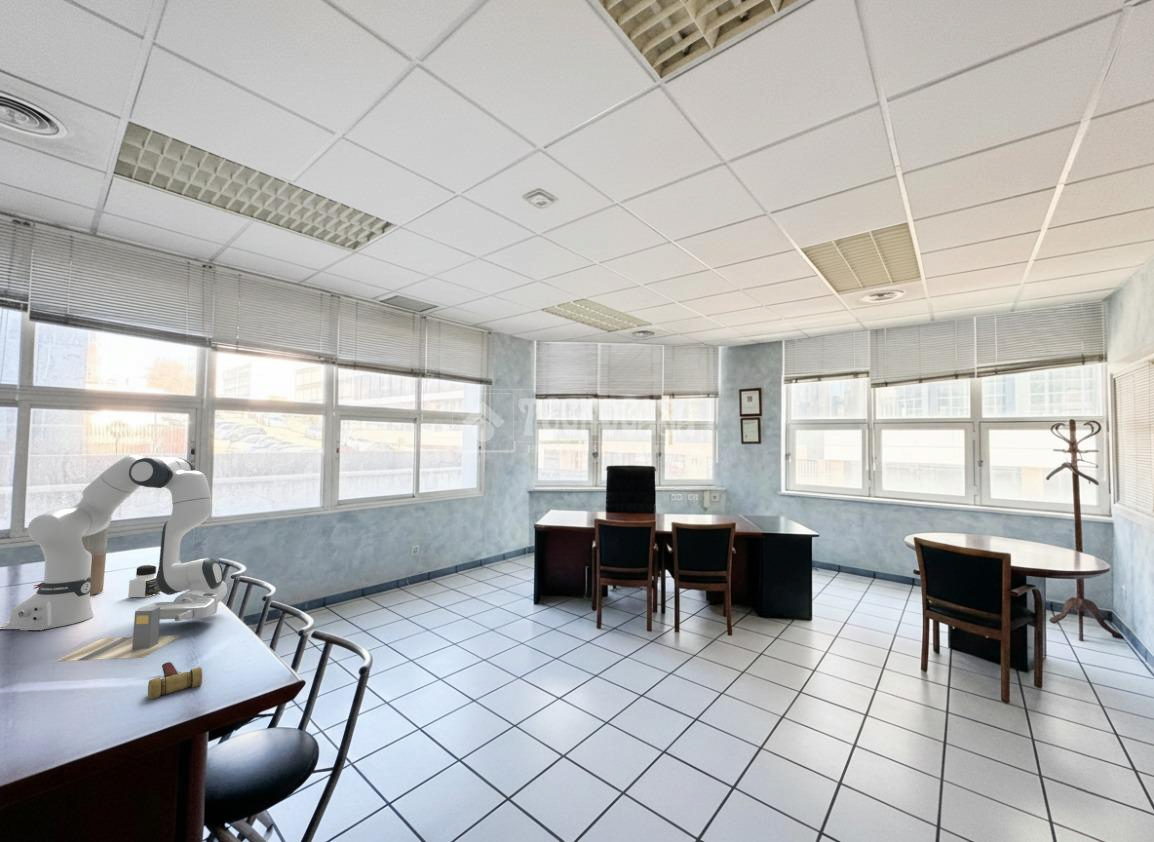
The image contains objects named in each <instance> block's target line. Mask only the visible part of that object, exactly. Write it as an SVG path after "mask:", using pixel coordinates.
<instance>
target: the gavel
mask: <svg viewBox="0 0 1154 842" xmlns="http://www.w3.org/2000/svg"><path fill="white" fill-rule="evenodd" d="M161 668H162V672H163V674H164V675H163V678H161V677H156V678H153V679H150V680H149V681H148V684H147V697H148V700H149V701H150V700H155V699H157V698H160V697H161V696H162V695H163V696H164V695H168V694H171V693H175V692H178V691H179V692H180V691H182V690H186V689H188V688H191V689H193V688H196V687H200V686H202V683H203V669H202V667H201V666H199V667H196V668H195V667H194V668H191V669H190V671H184V672H181V673H178V671H177V669H176V667H175V665H174V664H173V663H172V662H171V661H167V662H164V663H163V664H162V665H161Z"/></svg>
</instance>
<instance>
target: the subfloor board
mask: <svg viewBox="0 0 1154 842" xmlns="http://www.w3.org/2000/svg"><path fill="white" fill-rule="evenodd" d="M181 636H183V635H182V634H174V635H159V637H158V644H156V645H155V646H153V647H151V648H149V649H132V644H133V636H125V637H102V638H101V639H99V640H95V641H94V642H91V643H90V644H87V645H85V646H84V647H81V648H79V649H77V650H75V651H73V652H71V653H69V654H67V655H64V656H63V657H60V658H58V659H56V660H54V661H53V662H72V661H95V660H96V661H97V660H99V661H101V660H118V659H136V658H137V659H138V658H145V657H147V656H150V654H152V653H154V652H156V651H157V650H160V649H162V647H164V646H166V645H168V644H170V643H171V642H174V641H175V640H176V639H178V638H180V637H181Z"/></svg>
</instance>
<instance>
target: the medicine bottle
mask: <svg viewBox="0 0 1154 842" xmlns="http://www.w3.org/2000/svg"><path fill="white" fill-rule="evenodd" d="M157 567H158V566H157V565H155V564H145V565H140V566H138V567H137V568H136V574H135V578H132V579H129V581H128V583H129V584H128V595H127V597H147V596H150V595H153V594H156V593H159V592H161V591H159V590H158V589H157V587H156V584H155V581H156V576H157ZM161 593H162V592H161ZM159 594H160V593H159ZM156 595H157V594H156ZM153 596H154V595H153ZM150 597H151V596H150ZM147 598H148V597H147Z"/></svg>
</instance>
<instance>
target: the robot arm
mask: <svg viewBox="0 0 1154 842" xmlns="http://www.w3.org/2000/svg"><path fill="white" fill-rule="evenodd" d="M140 487H144V488H154V489H162V488H165V489H167V490H168V491H169V492H170V494H171V499H172V502H171V503H172V509H171V514H170V517H169V518H168V520H167V521H165V523H164V524H163V527H162V532H161V539H160V540H161V541H160V552H159V563H158V569H157V571H156V575H155V576H156V581H155V584H156V587H157V589H158V590H159V591H161V593H163V594H165V595H167V596H172V595H175V594H178V593H182V592H183V593H182V594H179V595H177V596H176V597H175V598H174V600H173V601H160V602H159V601H158V602H154V603H150V604H147V605H144V606H142V607H140V608H138V609H137V610H139V609H141V608H143V607H161V609H160V620H174V621H175V622H181V621H184V620H190V619H206V618H208V617H210V616H213V615H215V614H217V612H218V606H219V603H220V602H222V601H223V599H224V598H225V597H226V595H227V591H228V587H227V584H226V582H225V581H223V579H224V574H223V573H224V572H223V567H222V565H221V564H220V562H218V560H217V559H214V558H213V557H205V558H200V559H195V560H191V561H188V562H183V563H182V562H180V554H181V553H180V552H181V551H180V550H181V543H182V542H181V541H182V539H183V537H184V536H185V535H186V534H187V533H188V532H190V531H191V530H193V529H195V528H196V527H198V526H200V525H201V524H203V523H204V522H205V521H206V520H208V518H209V517H210V516H211V514H212V512H213V501H212V492H211V488H210V485H209V481H208V479H207V476H206V475H205V473H203V472H201V471H197V470H196V467H195V465H194V464H193V462H191V461H189V460H187V459H185V458H184V459H183V458H182V457H181V458H178V457H173V456H172V457H170V456H147V457H146V456H145V457H144V456H140V455H136V454H135V455H134V454H131V455H128V456H127V455H126V456H124V457H123V458H121V459H120V460H118V461H117V462H115V463H113V464H112V465H111V466H109V467H107V468H106V469H105V470H104V471H103V472H102V473H101V474H99V476H97V477H96V478H95V479H94V480H93V481H91V482H90V483H89V484H88V485H87V486H86V487H85V488H84V489H83V491H82V498H81V500H80V501H79V502H78V503H77V504H76V505H74V506H72V507H69V508H62V509H55V510H51V511H48V512H44V513H42V514H40V515H38V516H36V517H33V519H32V520H31V521H30V522H29V524H28V526H27V534H28V536H29V538H30V539H31V540H32V541H34V542H35V543H37V544H38V545H39V546H40V549H41V550H42V553H43V556H44V557H43V558H44V572H43V573H44V576H43V581H42V582H40V583H38V584H35V585H33V590H34V589H37V590H36V592H35V594H33V595H32V596H30V597H29V598H27V599H26V600H24V601H22V602H21V603H19V604H17V605H16V606H15V607H14V608H13V609H12V611H11V612H10V613H11V614H9V615H10V616H9V620H8V621H4V622H2V623H0V628H2V629H4V628H5V629H20V630H19V631H28V630H40V631H43V630H44V629H45V630H48V629H53V628H56V627H57V628H58V627H65V626H68V625H72V624H77V623H81V622H83V621H87V620H89V619H91V618H93V617H94V616H95V615H94V613H93V609H92V604H91V596H90V589H91V584H92V576H90V574H91V562H92V555H91V553H90V552H88V551H86V550H85V548H84V546H83V542H82V537H85V536H90V535H93V534H96V533H98V532H100V531H102V530H104V529H105V528H107V527H108V528H109V526H110V525H111V522H112V516H113V514H114V512H115V511H116V510H117V508H118V507H119V506H120V505H121V504H122V503H123V502H124V501H126V500H127V498H129V497H130V496H132V494H133V493H135V492H136V491H137V490H138V489H139V488H140ZM93 615H94V616H93ZM92 616H93V617H92ZM45 630H44V631H45Z"/></svg>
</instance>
